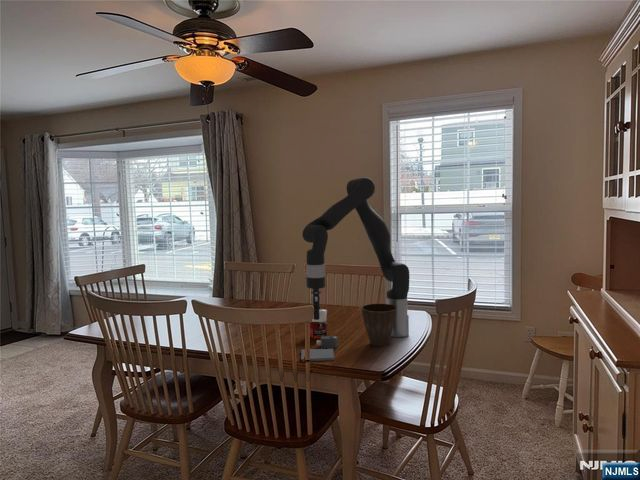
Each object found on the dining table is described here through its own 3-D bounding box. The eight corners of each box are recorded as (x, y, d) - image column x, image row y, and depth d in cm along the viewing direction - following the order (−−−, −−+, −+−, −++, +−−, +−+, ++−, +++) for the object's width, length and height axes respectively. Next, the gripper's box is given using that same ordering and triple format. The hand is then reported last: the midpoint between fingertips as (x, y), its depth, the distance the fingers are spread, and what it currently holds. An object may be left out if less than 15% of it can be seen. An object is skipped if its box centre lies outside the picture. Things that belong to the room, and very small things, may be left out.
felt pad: (333, 350, 187) (332, 348, 187) (334, 360, 176) (334, 357, 176) (301, 351, 186) (301, 349, 186) (301, 361, 175) (301, 358, 175)
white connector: (326, 319, 181) (326, 309, 181) (326, 322, 178) (326, 311, 177) (304, 319, 181) (304, 308, 181) (303, 321, 177) (304, 310, 177)
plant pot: (374, 336, 204) (373, 301, 203) (403, 342, 195) (403, 306, 193) (355, 345, 193) (354, 308, 191) (385, 351, 183) (384, 313, 182)
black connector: (337, 345, 193) (337, 335, 193) (338, 348, 190) (337, 338, 189) (316, 346, 193) (316, 336, 193) (316, 348, 190) (316, 339, 189)
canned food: (313, 340, 201) (312, 316, 200) (308, 335, 208) (308, 312, 207) (329, 338, 203) (328, 315, 202) (324, 333, 210) (324, 310, 209)
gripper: (325, 278, 171) (326, 322, 172) (324, 272, 185) (325, 313, 186) (306, 278, 171) (306, 323, 172) (306, 272, 185) (307, 313, 186)
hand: (316, 317), depth 179 cm, fingers closed on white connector, 3 cm apart
